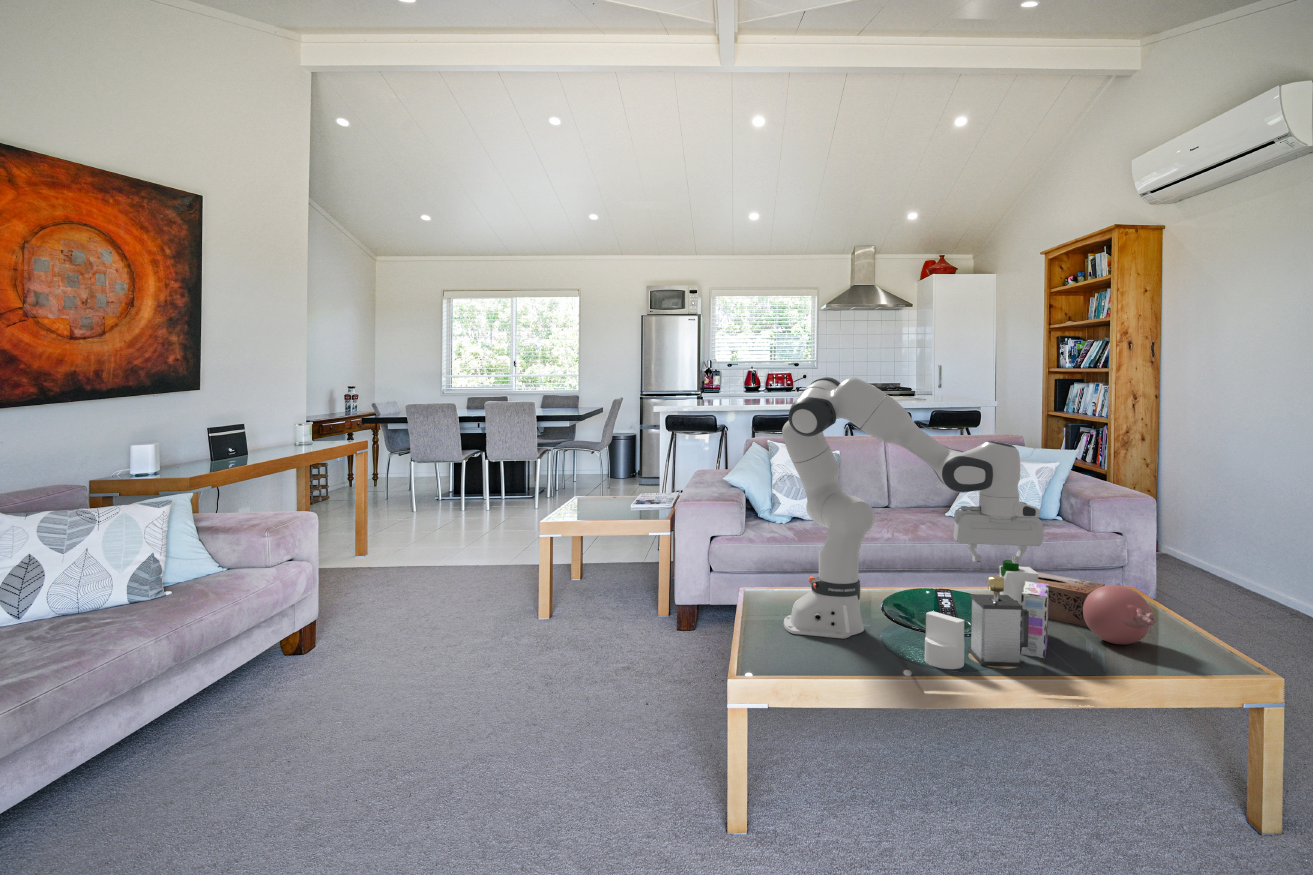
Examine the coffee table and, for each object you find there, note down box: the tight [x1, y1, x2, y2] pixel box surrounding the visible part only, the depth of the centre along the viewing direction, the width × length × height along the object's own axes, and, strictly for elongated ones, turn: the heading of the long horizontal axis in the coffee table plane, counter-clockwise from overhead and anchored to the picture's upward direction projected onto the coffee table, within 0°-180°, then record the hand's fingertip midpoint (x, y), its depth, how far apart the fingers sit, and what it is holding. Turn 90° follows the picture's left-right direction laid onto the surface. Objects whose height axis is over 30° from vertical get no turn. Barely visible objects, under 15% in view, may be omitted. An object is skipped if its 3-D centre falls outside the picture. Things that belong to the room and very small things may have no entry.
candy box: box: [1020, 581, 1049, 659], centre depth 178 cm, size 14×6×16 cm, turn 148°
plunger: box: [987, 575, 1005, 601], centre depth 170 cm, size 6×6×17 cm
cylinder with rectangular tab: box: [924, 610, 965, 670], centre depth 169 cm, size 9×9×12 cm
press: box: [967, 593, 1029, 668], centre depth 170 cm, size 12×10×15 cm
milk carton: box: [999, 559, 1038, 627], centre depth 191 cm, size 9×9×20 cm
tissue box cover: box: [994, 571, 1106, 627], centre depth 210 cm, size 26×14×10 cm, turn 40°
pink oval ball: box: [1083, 584, 1157, 645], centre depth 180 cm, size 15×20×15 cm
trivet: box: [968, 652, 1022, 670], centre depth 171 cm, size 12×12×1 cm
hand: (996, 562), depth 170 cm, fingers open, 8 cm apart
